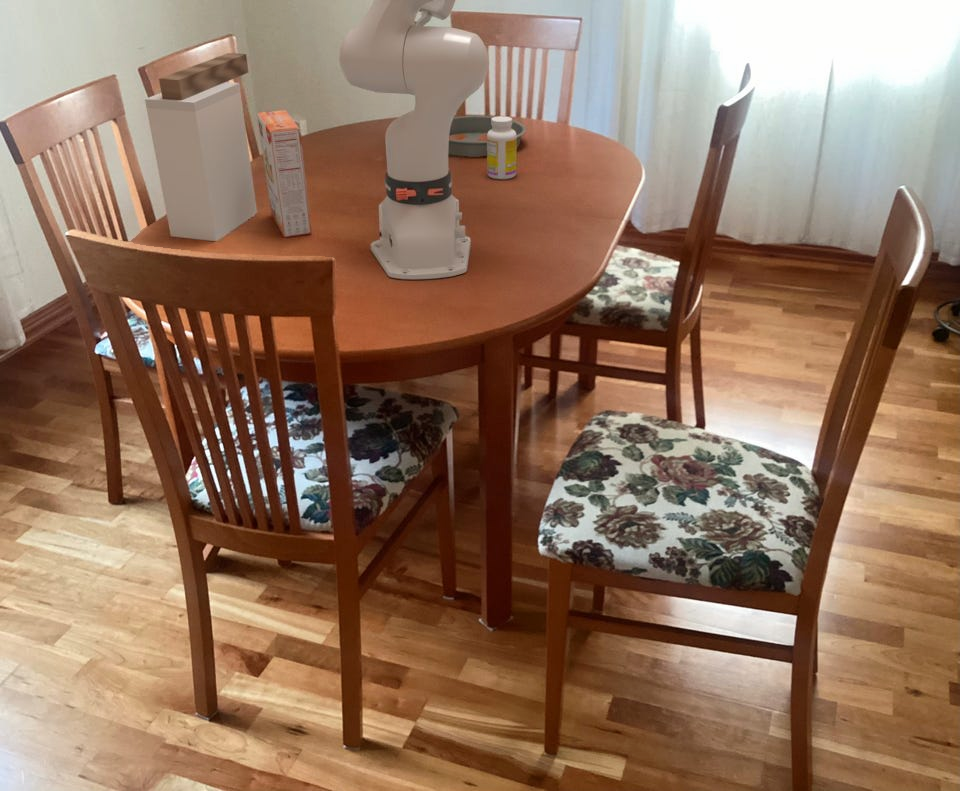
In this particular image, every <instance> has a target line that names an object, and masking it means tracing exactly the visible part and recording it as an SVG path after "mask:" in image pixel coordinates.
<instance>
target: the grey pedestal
mask: <svg viewBox="0 0 960 791" xmlns="http://www.w3.org/2000/svg"><path fill="white" fill-rule="evenodd" d="M144 103H145V106H146V112H147V117H148V123H149V129H150V133H151V138H152V143H153V150H154V154H155V159H156V165H157V171H158V175H159V182H160V185H161V190H162V197H163V201H164V206H165V213H166V218H167V222H168V227H169V228H168V229H169V232H170V237H176V238H184V239H192V240H201V241H209V242H210V241H211V242H218V241H219V240H221V239H223V238H224V237H225V236H228V234H230V233H231V232H232V231H234V230H235V229H237V228H238V227H240V226H242V225H243V224H244V223H246V222H247V221H249V220H250V219H252V218H253V217H254V216H256V215H257V214H258V210H257V209H258V208H257V202H256V201H257V200H256V194H255V187H254V180H253V174H252V167H251V166H252V165H251V158H250V150H249V145H248V144H249V143H248V136H247V128H246V121H245V116H244V115H245V114H244V107H243V99H242V94H241V86H240V82H230V81H227V82H225V83H222V84H220V85H217V86H215V87H213V88H210V89H208V90H206V91H203V92H201V93H198V94H196V95H194V96H191V97H189V98H186V99H184V100H170V99H162V93H161V92H159V93H157V94H155V95H152V96H149V97H146V98H144ZM256 213H257V214H256ZM255 214H256V215H255ZM251 217H252V218H251ZM248 219H249V220H248Z"/></svg>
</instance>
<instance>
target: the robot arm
mask: <svg viewBox="0 0 960 791" xmlns="http://www.w3.org/2000/svg"><path fill="white" fill-rule="evenodd" d="M455 3H456V0H373V1H372V3H371V6H370V7H369V9H368V11H367V12H366V13H365V15H364V17H362V18H361V20H360V21H359V22H358V23H357V24H356V25H354V26H353V27H352V28H350V29H349V30H348V31H347V33H346V34H345V35H344V37H343V39H342V41H341V45H340V46H339V47H340V48H339V58H338V59H339V65H340V66H339V67H340V68H341V72H342V74H343V76H344V78H345V79H346V81H347V82H348V83H349V84H350V85H351V86H353V87H356V88H359V89H363V90H367V91H370V92H374V93H382V94H383V93H385V94H398V95H399V94H400V95H413V96H414V98H415V100H414V103H415V104H414V108H413V110H411V111H408V112H406V113H404V114H402V115H401V116H398V117H397V118H396V119H394V120H393V121H392V122H391V123H390V124H389V125H388V126H387V129H386V132H385V137H384V138H385V139H384V140H385V141H384V142H385V155H386V156H385V158H386V168H387V169H386V172H385V175H384V187H385V194H386V196H385V197H384V199H383V200H382V201H381V203H378V204H379V205H378V217H379V223H378V225H379V239H377V240H375V241H373V242H371V243H370V251H371V252H372V253H373V255H374V257H375V258H376V260H377V261H378V262H379V264H380V266H381V267H382V268H383V270H384V272H385V273H386V275H387V276H388V277H390V278H394V279H400V280H433V279H441V278H448V277H449V278H450V277H454V276H458V275H461V274H464V273H467V271H468V266H469V258H470V252H471V248H472V246H471V245H472V240H471V237H470V236H467V235H466V226H465V225H460V221H462V220H463V212H461V211H460V201H459V199H457V197H455V196H454V195H453V194H452V193H453V190H452V189H453V187H452V186H453V180H452V174H451V170H450V169H449V154H448V150H449V134H450V128H451V124H452V121H453V118H454V117H456V114H457V112H458V110H459V109H460V107H461V106H462V104H463V103H464V102H465V101H466V100H467V99H468V98H469V97H471V96H472V95H473V94H475V92H477V91H478V90H479V89H480V88H481V87H482V85H483V84H484V82H485V80H486V77H487V75H488V72H489V62H490V61H489V55H488V54H489V53H488V51H487V47H486V45H485V43H484V41H483V40H482V38H481V37H480V36H479V35H478V34H477V33H474V32H471V31H468V30H464V29H460V28H455V27H451V26H429V25H428V26H427V24H428V23H429V22H430V21H431V19H432V17H434V18H436V19H438V20H441V21H443V20H446V19H447V18H449V16H450V15H451V13H452V10H453V8H454V5H455ZM419 12H420V14H421V16H420V18H418V19H417V20H416V17H417V14H418V13H419Z"/></svg>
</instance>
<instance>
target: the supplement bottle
mask: <svg viewBox="0 0 960 791" xmlns="http://www.w3.org/2000/svg"><path fill="white" fill-rule="evenodd" d="M512 120H513V118H512V117H511V116H501V115H500V116H493V118H492V119H491V125H492V129H491V130H490V131H489V132H488V133H487V157H486V164H487V165H486V166H487V168H486V171H487V176H488V177H489V178H491V179H493V180H508V179H513V178H514V177H515V176H516V175H517V161H518V160H517V157H518V156H517V153H518V151H517V149H518V148H517V135H516V132H515V131H514V130H513V129H511V126H512Z"/></svg>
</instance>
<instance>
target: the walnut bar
mask: <svg viewBox="0 0 960 791" xmlns="http://www.w3.org/2000/svg"><path fill="white" fill-rule="evenodd" d="M248 66H249V65H248V56H247V53H234V52H227V53H224V54H222V55H220V56H216V57H215V58H211V59H209V60H206V61H205V60H204V61H203V62H200V63H198V64H195V65H192V66H188V67H186V68H184V69H181V70H179V71H176V72H173V73H170V74H168V75H165V76H163V77H162V76H161V77H160V78H158V81H159V87H160V93H162V99H170V100H184V99H186V98H189V97H191V96H194V95H196V94H198V93H201V92H203V91H206V90H208V89H210V88H213V87H215V86H217V85H220V84H222V83H225V82H230V81H232V80H234V79H236V78H239V77H242V76H243V75H247V74H248V73H249V67H248Z"/></svg>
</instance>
